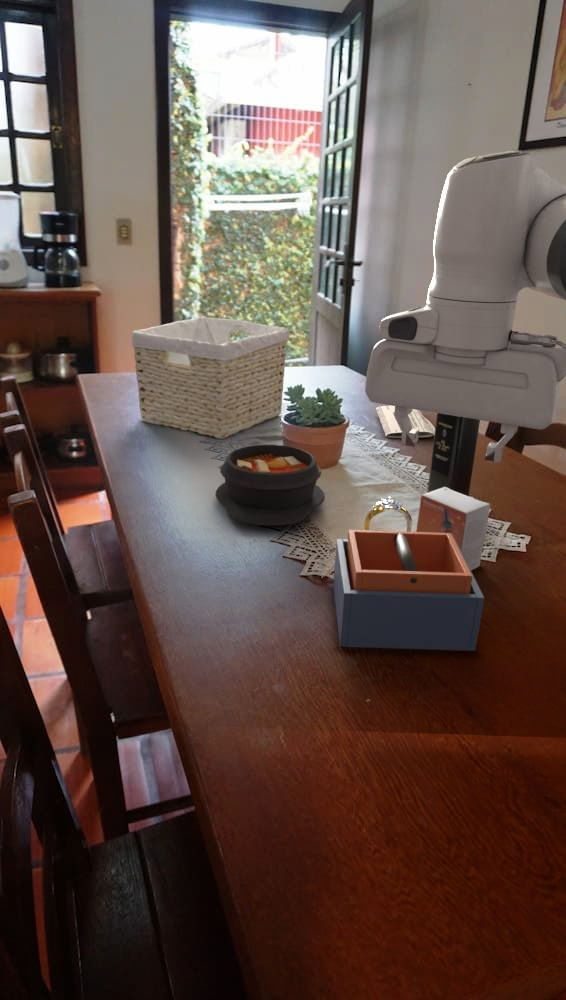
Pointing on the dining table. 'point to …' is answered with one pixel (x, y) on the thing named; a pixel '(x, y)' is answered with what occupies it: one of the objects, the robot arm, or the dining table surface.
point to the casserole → (270, 485)
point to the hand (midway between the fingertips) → (449, 452)
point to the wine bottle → (453, 453)
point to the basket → (210, 374)
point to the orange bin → (406, 562)
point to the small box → (456, 520)
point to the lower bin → (404, 615)
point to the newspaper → (393, 428)
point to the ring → (388, 505)
